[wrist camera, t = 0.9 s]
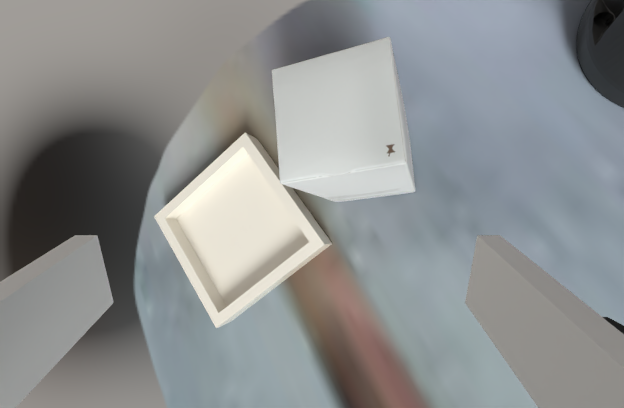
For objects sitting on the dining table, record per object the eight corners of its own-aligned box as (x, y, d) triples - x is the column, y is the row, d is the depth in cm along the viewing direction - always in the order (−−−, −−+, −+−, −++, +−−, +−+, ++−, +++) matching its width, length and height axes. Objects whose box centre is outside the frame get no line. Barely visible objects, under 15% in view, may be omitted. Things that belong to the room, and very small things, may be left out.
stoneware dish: (257, 139, 41) (245, 132, 38) (332, 243, 37) (324, 244, 34) (171, 217, 44) (154, 216, 41) (231, 321, 40) (216, 328, 37)
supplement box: (406, 111, 35) (394, 30, 21) (416, 193, 34) (411, 165, 20) (325, 127, 38) (268, 65, 24) (333, 203, 37) (277, 185, 23)
